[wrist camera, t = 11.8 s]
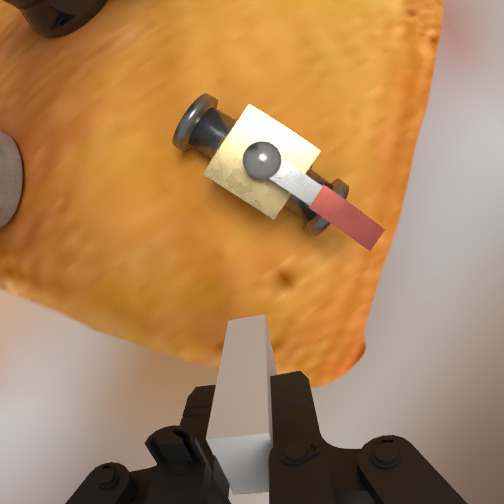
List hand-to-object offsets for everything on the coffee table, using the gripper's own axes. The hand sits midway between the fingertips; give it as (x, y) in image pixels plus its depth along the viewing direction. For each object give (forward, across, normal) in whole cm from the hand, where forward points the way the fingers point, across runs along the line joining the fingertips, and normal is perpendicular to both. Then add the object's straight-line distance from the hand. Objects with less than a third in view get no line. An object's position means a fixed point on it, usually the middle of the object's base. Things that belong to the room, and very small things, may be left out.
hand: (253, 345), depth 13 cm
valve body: (+26, +2, +8) cm, 28 cm away
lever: (+18, +6, +4) cm, 19 cm away
